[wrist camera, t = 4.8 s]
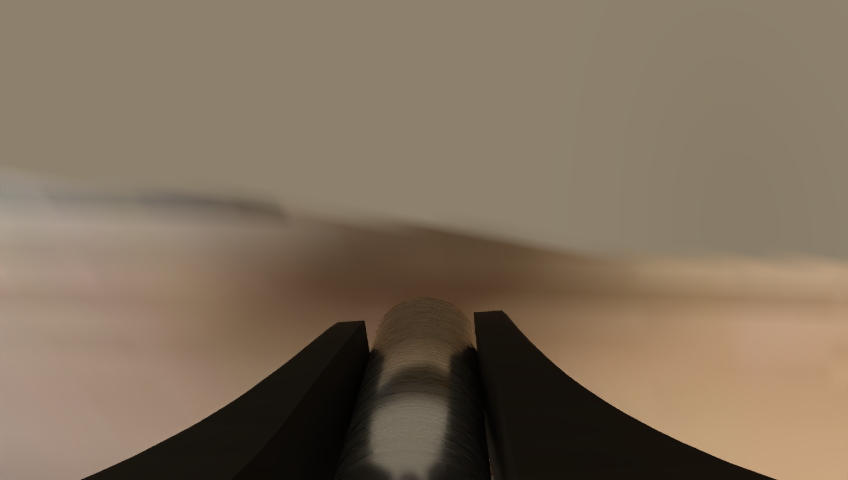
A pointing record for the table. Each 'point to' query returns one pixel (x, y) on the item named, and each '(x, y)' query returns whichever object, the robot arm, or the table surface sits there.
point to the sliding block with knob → (419, 400)
